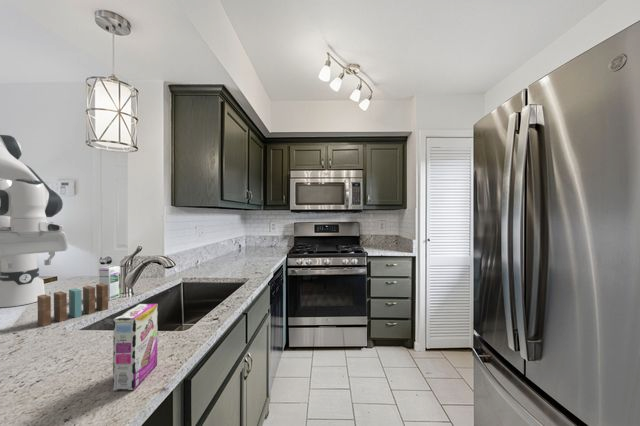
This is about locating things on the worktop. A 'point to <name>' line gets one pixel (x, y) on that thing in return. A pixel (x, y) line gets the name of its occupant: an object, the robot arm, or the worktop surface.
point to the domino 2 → (60, 306)
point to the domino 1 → (44, 310)
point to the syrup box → (111, 280)
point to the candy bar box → (134, 346)
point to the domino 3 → (75, 303)
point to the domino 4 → (89, 299)
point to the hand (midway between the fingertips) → (28, 266)
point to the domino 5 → (102, 296)
